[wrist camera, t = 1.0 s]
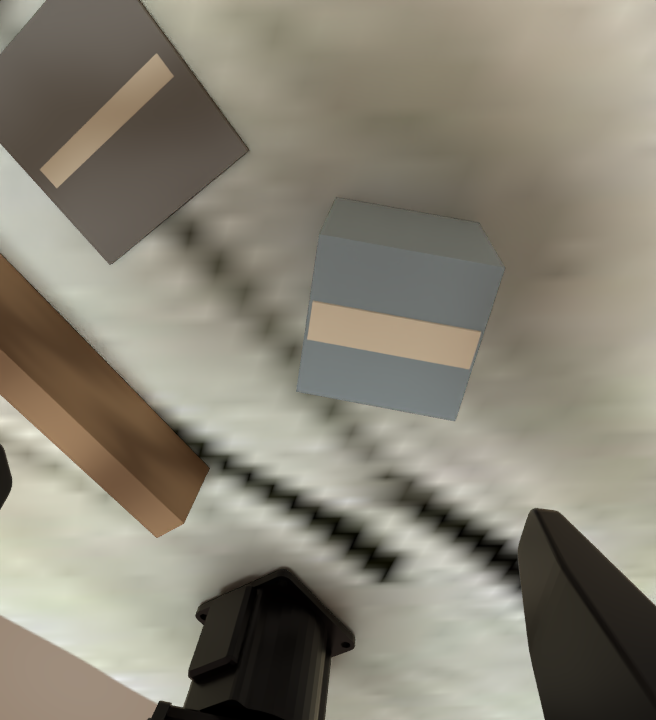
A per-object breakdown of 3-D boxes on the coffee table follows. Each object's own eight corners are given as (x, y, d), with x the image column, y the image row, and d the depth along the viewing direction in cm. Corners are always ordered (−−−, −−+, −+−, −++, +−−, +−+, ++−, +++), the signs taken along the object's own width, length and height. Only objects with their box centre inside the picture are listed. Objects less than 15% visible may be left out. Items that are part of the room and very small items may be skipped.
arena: (558, 269, 19) (591, 307, 16) (185, 482, 25) (156, 538, 22) (197, -371, 13) (135, -513, 10) (-173, 127, 19) (-281, 137, 16)
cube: (478, 222, 19) (505, 268, 14) (442, 348, 21) (455, 423, 16) (336, 196, 19) (318, 235, 14) (316, 325, 21) (295, 393, 17)
